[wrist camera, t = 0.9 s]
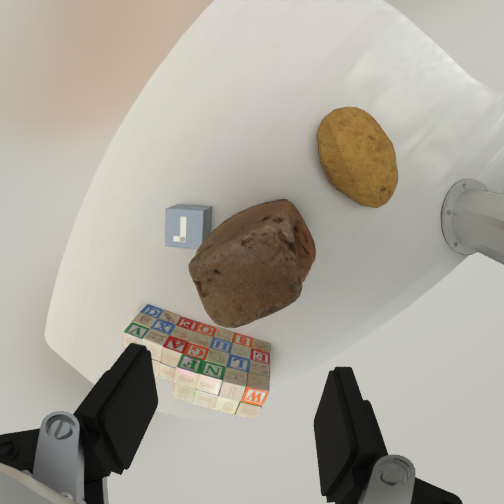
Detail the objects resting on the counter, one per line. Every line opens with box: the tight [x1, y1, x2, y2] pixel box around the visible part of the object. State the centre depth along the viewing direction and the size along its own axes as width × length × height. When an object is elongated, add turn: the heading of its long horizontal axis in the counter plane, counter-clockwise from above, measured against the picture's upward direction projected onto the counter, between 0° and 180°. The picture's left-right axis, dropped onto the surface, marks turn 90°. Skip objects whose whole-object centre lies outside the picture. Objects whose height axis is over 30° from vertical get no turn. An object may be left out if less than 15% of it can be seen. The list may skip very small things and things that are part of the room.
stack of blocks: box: [123, 305, 270, 419], centre depth 40 cm, size 21×6×12 cm, turn 74°
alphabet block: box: [165, 204, 212, 249], centre depth 38 cm, size 5×5×5 cm
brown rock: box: [189, 199, 316, 328], centre depth 30 cm, size 11×8×20 cm
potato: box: [317, 107, 398, 208], centre depth 32 cm, size 10×13×9 cm
